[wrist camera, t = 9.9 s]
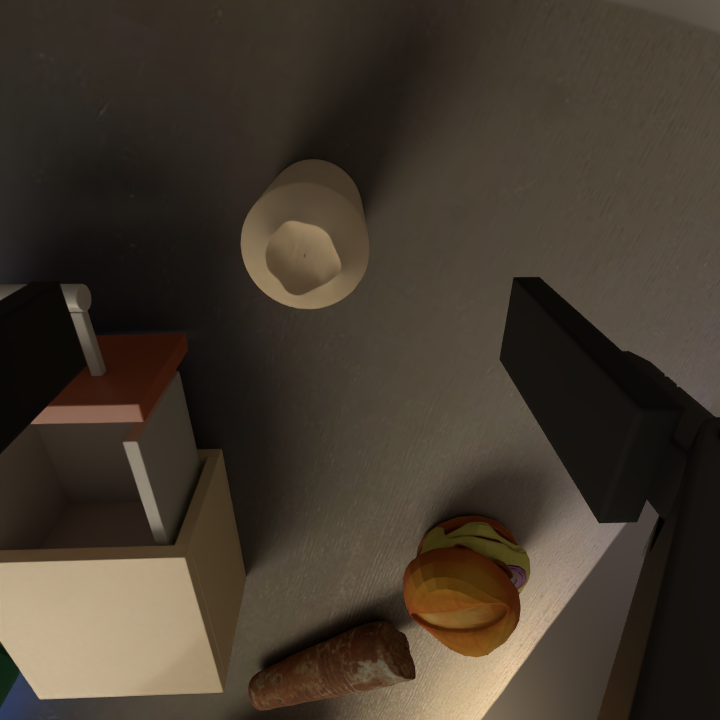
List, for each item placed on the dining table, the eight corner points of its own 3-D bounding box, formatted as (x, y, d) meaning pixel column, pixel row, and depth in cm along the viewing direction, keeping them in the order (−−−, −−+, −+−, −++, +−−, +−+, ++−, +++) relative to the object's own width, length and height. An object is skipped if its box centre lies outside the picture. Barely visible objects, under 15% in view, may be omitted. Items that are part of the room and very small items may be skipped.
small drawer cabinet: (41, 452, 35) (-54, 564, 27) (222, 448, 36) (185, 557, 27) (98, 581, 43) (39, 699, 35) (246, 576, 44) (223, 692, 35)
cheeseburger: (481, 594, 46) (486, 700, 37) (388, 542, 46) (372, 637, 37) (545, 533, 42) (570, 636, 33) (444, 475, 41) (440, 564, 32)
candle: (375, 178, 26) (392, 218, 18) (344, 266, 29) (345, 338, 20) (282, 142, 25) (251, 165, 17) (258, 236, 28) (220, 299, 19)
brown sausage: (414, 630, 49) (422, 689, 44) (269, 684, 53) (262, 742, 49) (386, 601, 46) (391, 659, 41) (235, 659, 51) (224, 719, 46)
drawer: (-49, 256, 27) (-183, 311, 20) (169, 254, 27) (111, 307, 20) (60, 499, 37) (-5, 592, 30) (219, 495, 37) (191, 586, 30)
